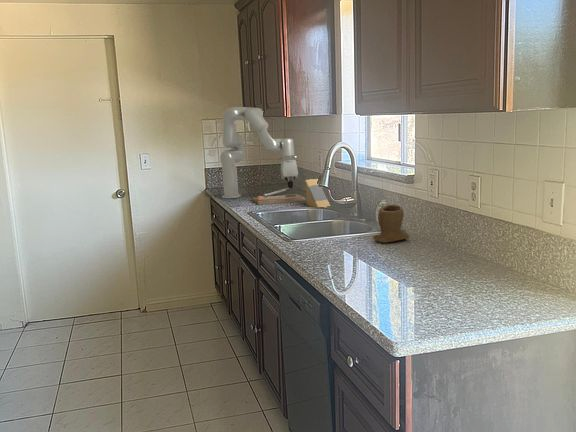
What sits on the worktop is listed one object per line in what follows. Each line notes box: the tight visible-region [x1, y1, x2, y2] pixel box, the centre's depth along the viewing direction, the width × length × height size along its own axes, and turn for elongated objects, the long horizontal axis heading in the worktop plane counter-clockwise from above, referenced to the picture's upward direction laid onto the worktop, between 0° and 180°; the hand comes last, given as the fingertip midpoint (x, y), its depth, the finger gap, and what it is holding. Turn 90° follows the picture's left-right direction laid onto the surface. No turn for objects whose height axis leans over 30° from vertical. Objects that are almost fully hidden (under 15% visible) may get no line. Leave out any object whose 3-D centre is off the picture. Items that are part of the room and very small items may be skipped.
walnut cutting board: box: [251, 193, 306, 206], centre depth 360 cm, size 19×30×2 cm, turn 106°
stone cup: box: [372, 204, 410, 244], centre depth 236 cm, size 15×12×15 cm
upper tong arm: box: [262, 186, 296, 197], centre depth 360 cm, size 20×4×2 cm, turn 106°
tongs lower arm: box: [263, 193, 296, 199], centre depth 360 cm, size 23×4×1 cm, turn 106°
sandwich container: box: [305, 178, 331, 208], centre depth 333 cm, size 9×15×15 cm, turn 25°
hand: (290, 187), depth 361 cm, fingers closed
